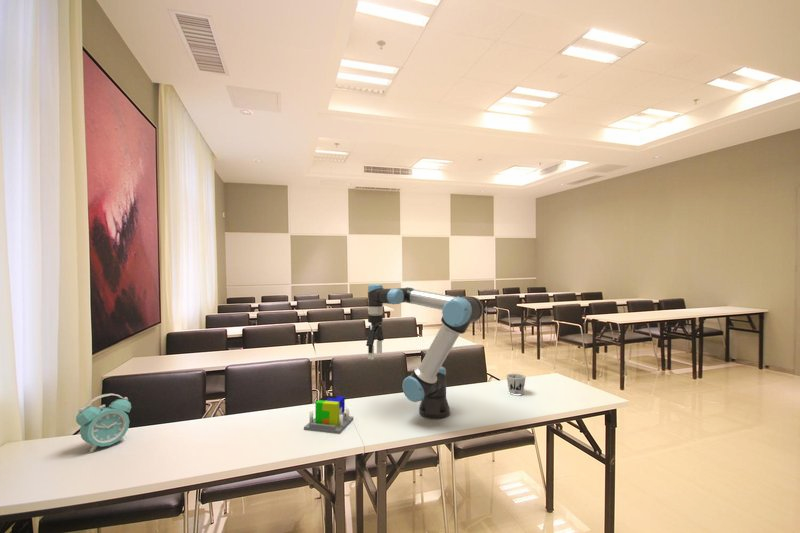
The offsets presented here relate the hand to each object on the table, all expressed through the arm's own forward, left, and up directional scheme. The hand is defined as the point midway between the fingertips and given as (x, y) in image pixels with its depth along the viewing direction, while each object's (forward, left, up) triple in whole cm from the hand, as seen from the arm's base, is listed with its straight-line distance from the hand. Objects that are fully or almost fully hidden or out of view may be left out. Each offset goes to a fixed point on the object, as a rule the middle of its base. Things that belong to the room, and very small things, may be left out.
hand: (375, 356), depth 184 cm
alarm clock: (+94, +63, -27) cm, 116 cm away
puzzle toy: (+14, +23, -26) cm, 37 cm away
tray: (+14, +23, -27) cm, 38 cm away
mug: (-71, -44, -27) cm, 88 cm away
